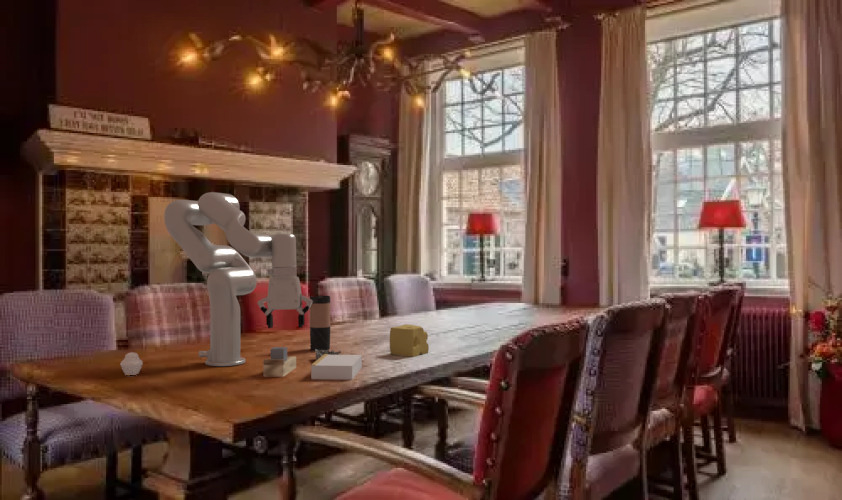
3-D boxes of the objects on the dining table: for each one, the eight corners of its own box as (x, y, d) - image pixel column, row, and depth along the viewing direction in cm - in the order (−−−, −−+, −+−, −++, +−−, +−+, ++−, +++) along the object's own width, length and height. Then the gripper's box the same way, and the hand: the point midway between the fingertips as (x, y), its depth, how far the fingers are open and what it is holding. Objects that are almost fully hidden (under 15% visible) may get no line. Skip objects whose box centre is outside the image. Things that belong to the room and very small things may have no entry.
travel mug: (328, 351, 239) (328, 297, 239) (308, 351, 239) (308, 297, 239) (331, 347, 247) (331, 295, 247) (311, 347, 247) (311, 295, 247)
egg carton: (341, 363, 215) (342, 351, 215) (319, 364, 213) (319, 352, 213) (335, 358, 226) (335, 346, 225) (314, 359, 223) (314, 347, 223)
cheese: (428, 353, 235) (428, 325, 235) (412, 357, 226) (412, 329, 226) (405, 350, 240) (405, 324, 240) (388, 354, 231) (388, 327, 231)
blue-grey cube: (270, 362, 196) (270, 349, 196) (274, 359, 200) (274, 347, 200) (283, 362, 196) (283, 349, 196) (287, 360, 200) (287, 347, 200)
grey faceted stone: (145, 372, 197) (145, 350, 197) (139, 376, 191) (140, 353, 191) (123, 373, 196) (123, 350, 196) (117, 377, 190) (117, 353, 190)
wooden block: (263, 378, 192) (263, 359, 192) (277, 368, 207) (277, 351, 207) (283, 378, 191) (283, 360, 191) (296, 369, 206) (296, 351, 206)
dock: (311, 379, 188) (311, 364, 188) (324, 367, 207) (324, 354, 207) (352, 379, 187) (352, 365, 187) (361, 367, 206) (361, 354, 206)
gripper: (253, 274, 200) (254, 329, 200) (308, 272, 199) (310, 328, 199) (261, 273, 207) (262, 326, 207) (314, 272, 206) (315, 325, 206)
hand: (285, 327), depth 203 cm, fingers open, 9 cm apart
